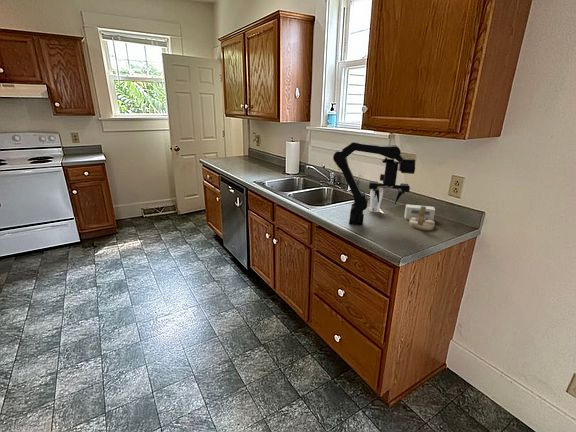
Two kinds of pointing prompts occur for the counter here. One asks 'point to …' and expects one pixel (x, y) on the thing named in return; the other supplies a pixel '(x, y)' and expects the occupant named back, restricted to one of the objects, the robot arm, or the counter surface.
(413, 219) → the cam dial
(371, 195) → the beer glass
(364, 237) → the counter surface
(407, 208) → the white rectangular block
